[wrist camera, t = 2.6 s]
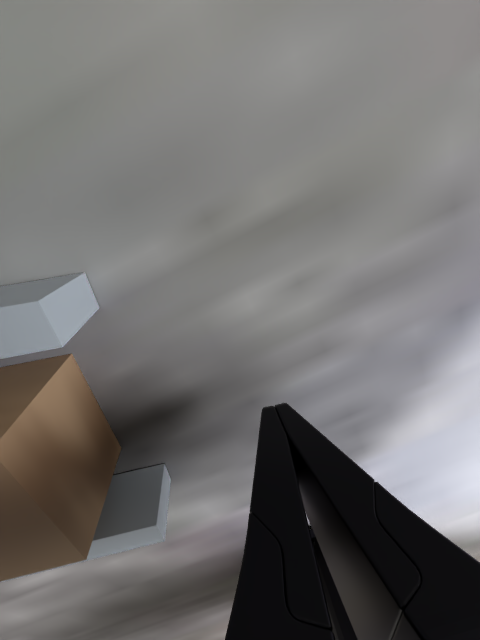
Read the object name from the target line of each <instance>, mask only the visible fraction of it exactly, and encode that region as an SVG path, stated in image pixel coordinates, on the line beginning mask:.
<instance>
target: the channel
mask: <svg viewBox="0 0 480 640" xmlns="http://www.w3.org/2000/svg"><path fill="white" fill-rule="evenodd" d="M98 309H99V306H98V303H97V301H96V298H95V296H94V294H93V291H92V289H91V286H90V284H89V282H88V279H87V277H86V274H85V272H84V273H78V274H72V275H66V276H60V277H54V278H48V279H42V280H36V281H30V282H24V283H18V284H12V285H6V286H0V359H3V358H8V357H14V356H19V355H24V354H30V353H35V352H40V351H46V350H51V349H57V348H62V347H63V346H64V345H65V344H66V343H67V342H68V341H69V340H70V339H71V338H72V337H73V336H74V335H75V334H76V333H77V331H78V330H79V329H80V328H81V327H82V326H83V325H84V324H85V323H86V322H87V321H88V320H89V319H90V318H91V317H92V315H93V314H94V313H95V312H96V311H97V310H98ZM170 484H171V478H170V476H169V474H168V471H167V469H166V466H165V464H161V465H156V466H152V467H148V468H143V469H139V470H134V471H130V472H126V473H121V474H117V475H113V476H112V480H111V483H110V486H109V489H108V492H107V496H106V499H105V502H104V505H103V508H102V512H101V515H100V518H99V521H98V524H97V527H96V531H95V534H94V537H93V540H92V543H91V547H90V550H89V553H88V556H87V559H86V560H84V561H88V560H92V559H96V558H100V557H104V556H108V555H112V554H116V553H120V552H124V551H128V550H132V549H136V548H140V547H144V546H148V545H152V544H156V543H160V542H164V541H165V534H166V524H167V514H168V504H169V494H170ZM84 561H80V562H84ZM80 562H76V563H80ZM76 563H72V564H76ZM72 564H68V565H72ZM68 565H64V566H68ZM64 566H60V567H64ZM60 567H56V568H60ZM56 568H52V569H56ZM52 569H48V570H52ZM48 570H44V571H48ZM44 571H40V572H44ZM40 572H36V573H40ZM36 573H32V574H36ZM32 574H28V575H32ZM28 575H24V576H28ZM24 576H20V577H24ZM20 577H16V578H20ZM16 578H13V579H16ZM9 580H12V579H9ZM5 581H8V580H5ZM1 582H4V581H1Z"/></svg>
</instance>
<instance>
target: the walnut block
mask: <svg viewBox="0 0 480 640" xmlns="http://www.w3.org/2000/svg"><path fill="white" fill-rule="evenodd" d="M120 451H121V446H120V445H119V443H118V441H117V439H116V437H115V435H114V433H113V431H112V429H111V427H110V426H109V424H108V422H107V420H106V418H105V416H104V414H103V412H102V410H101V408H100V406H99V405H98V403H97V401H96V399H95V397H94V395H93V393H92V391H91V389H90V387H89V386H88V384H87V382H86V380H85V378H84V376H83V374H82V372H81V370H80V368H79V366H78V365H77V363H76V361H75V359H74V357H73V355H72V354H67V355H62V356H57V357H52V358H46V359H41V360H36V361H31V362H26V363H21V364H16V365H11V366H6V367H0V582H1V581H5V580H9V579H13V578H16V577H20V576H24V575H28V574H32V573H36V572H40V571H44V570H48V569H52V568H56V567H60V566H64V565H68V564H72V563H76V562H80V561H84V560H86V559H87V556H88V553H89V550H90V547H91V543H92V540H93V537H94V534H95V531H96V527H97V524H98V521H99V518H100V515H101V512H102V508H103V505H104V502H105V499H106V496H107V492H108V489H109V486H110V483H111V480H112V476H113V473H114V470H115V467H116V464H117V460H118V457H119V454H120Z"/></svg>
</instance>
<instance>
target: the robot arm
mask: <svg viewBox="0 0 480 640" xmlns="http://www.w3.org/2000/svg"><path fill="white" fill-rule="evenodd" d="M305 512H306V513H305ZM306 514H307V517H308V519H309V522H310V524H311V527H312V530H309V526H308V521H307V517H306ZM225 640H480V562H479V561H477V560H476V559H475V558H473V557H472V556H470V555H469V554H468V553H466V552H465V551H464V550H462V549H461V548H460V547H458V546H457V545H456V544H454V543H453V542H452V541H450V540H449V539H448V538H446V537H445V536H443V535H442V534H441V533H439V532H438V531H437V530H435V529H434V528H433V527H431V526H430V525H429V524H428V523H426V522H425V521H424V520H422V519H421V518H420V517H418V516H417V515H416V514H415V513H413V512H412V511H411V510H409V509H408V508H407V507H406V506H405V505H403V504H402V503H401V502H400V501H399V500H397V499H396V498H395V497H394V496H393V495H391V494H390V493H389V492H388V491H387V490H386V489H385V488H383V487H382V486H381V485H380V484H379V483H378V482H374V479H373V478H372V477H371V476H370V475H368V474H367V473H366V472H365V471H364V470H363V469H362V468H360V467H359V466H358V465H357V464H356V463H355V462H353V461H352V460H351V459H350V458H349V457H348V456H347V455H345V454H344V453H343V452H342V451H341V450H340V449H339V448H337V447H336V446H335V445H334V444H333V443H332V442H331V441H329V440H328V439H327V438H326V437H325V436H324V435H323V434H321V433H320V432H319V431H318V430H317V429H316V428H314V427H313V426H312V425H311V424H310V423H309V422H308V421H306V420H305V419H304V418H303V417H302V416H301V415H300V414H298V413H297V412H296V411H295V410H294V409H293V408H292V407H290V406H289V405H288V404H287V403H282V404H278V405H275V407H274V406H269V407H264V408H263V409H262V413H261V422H260V430H259V439H258V447H257V455H256V464H255V472H254V480H253V489H252V497H251V505H250V514H249V520H248V529H247V536H246V542H245V549H244V555H243V560H242V565H241V570H240V575H239V580H238V585H237V589H236V594H235V598H234V602H233V607H232V611H231V615H230V620H229V624H228V628H227V633H226V637H225Z"/></svg>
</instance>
